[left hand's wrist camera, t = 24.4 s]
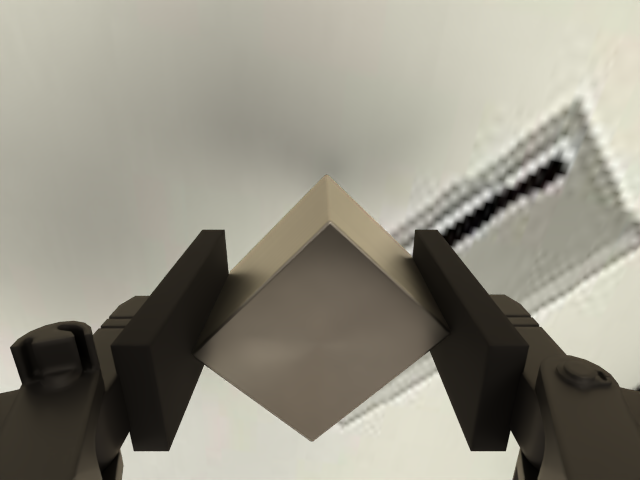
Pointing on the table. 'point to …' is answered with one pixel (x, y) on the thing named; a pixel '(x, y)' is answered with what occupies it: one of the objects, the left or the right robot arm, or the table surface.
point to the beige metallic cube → (320, 314)
